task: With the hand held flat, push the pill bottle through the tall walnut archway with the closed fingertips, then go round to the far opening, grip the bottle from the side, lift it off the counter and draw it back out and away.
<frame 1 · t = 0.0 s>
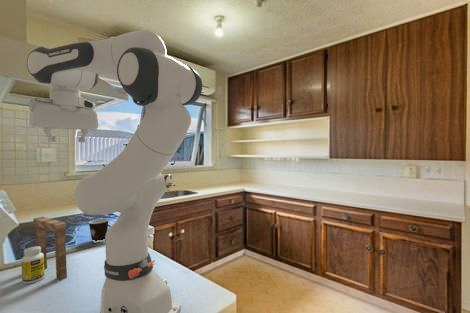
hand: (67, 142, 87), 48 cm above the counter, tool pointing down, fingers open, 8 cm apart
pill bottle: (33, 280, 89), on the counter
coffee mug: (100, 242, 125), on the counter
walnut archway: (51, 272, 93), on the counter
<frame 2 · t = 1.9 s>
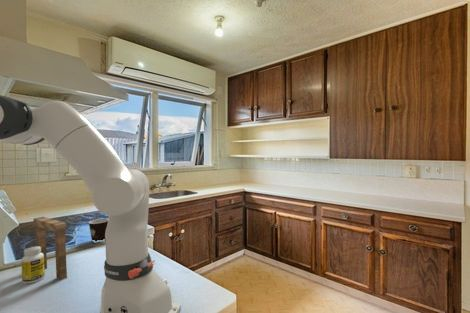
nothing on the counter moved.
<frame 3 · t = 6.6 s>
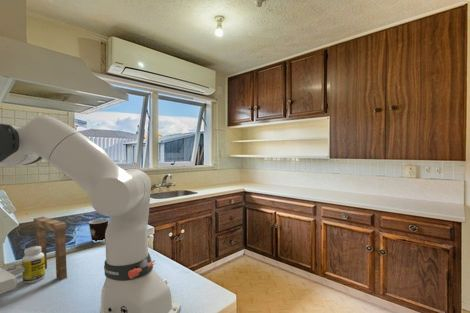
hand: (22, 268, 86), 5 cm above the counter, tool horizontal, fingers closed, pressing on pill bottle
pill bottle: (34, 280, 89), on the counter, touching gripper
everything else where it was.
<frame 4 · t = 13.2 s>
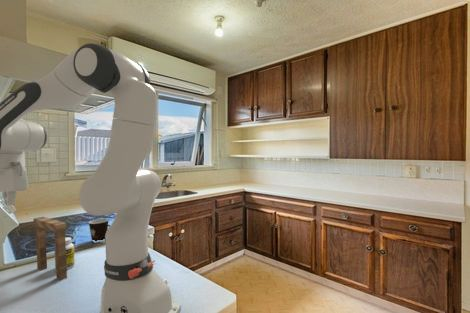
hand: (9, 205, 83), 27 cm above the counter, tool pointing down, fingers closed
pill bottle: (65, 268, 98), on the counter
everything else where it was.
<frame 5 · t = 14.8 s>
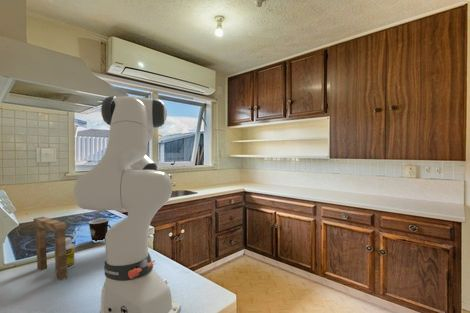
hand: (95, 188, 107), 29 cm above the counter, tool horizontal, fingers closed
nothing on the counter moved.
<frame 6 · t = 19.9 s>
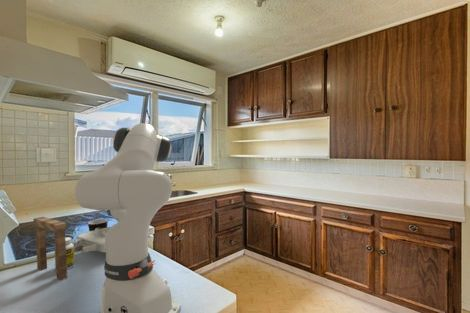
hand: (76, 247, 101), 6 cm above the counter, tool horizontal, fingers open, 8 cm apart
coffee mug: (96, 243, 123), on the counter, touching arm
everything else where it was.
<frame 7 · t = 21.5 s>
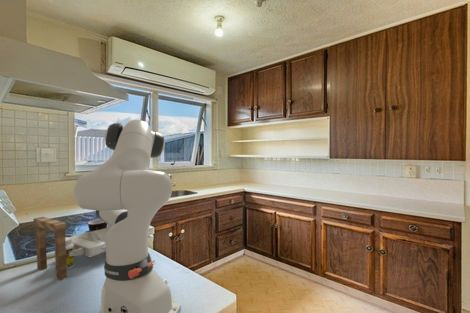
hand: (63, 252, 97), 6 cm above the counter, tool horizontal, fingers closed on pill bottle, 6 cm apart
pill bottle: (65, 267, 98), on the counter, touching gripper
coffee mug: (96, 243, 123), on the counter
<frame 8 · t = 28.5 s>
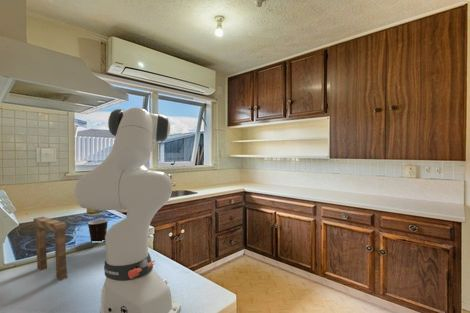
hand: (93, 198, 111), 24 cm above the counter, tool horizontal, fingers closed on pill bottle, 6 cm apart
pill bottle: (95, 214, 111), point 17 cm above the counter, touching gripper
everything else where it was.
at the end: pill bottle inside the target area (3.4 cm from its centre), point 16.7 cm above the counter; pill bottle touching gripper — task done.
